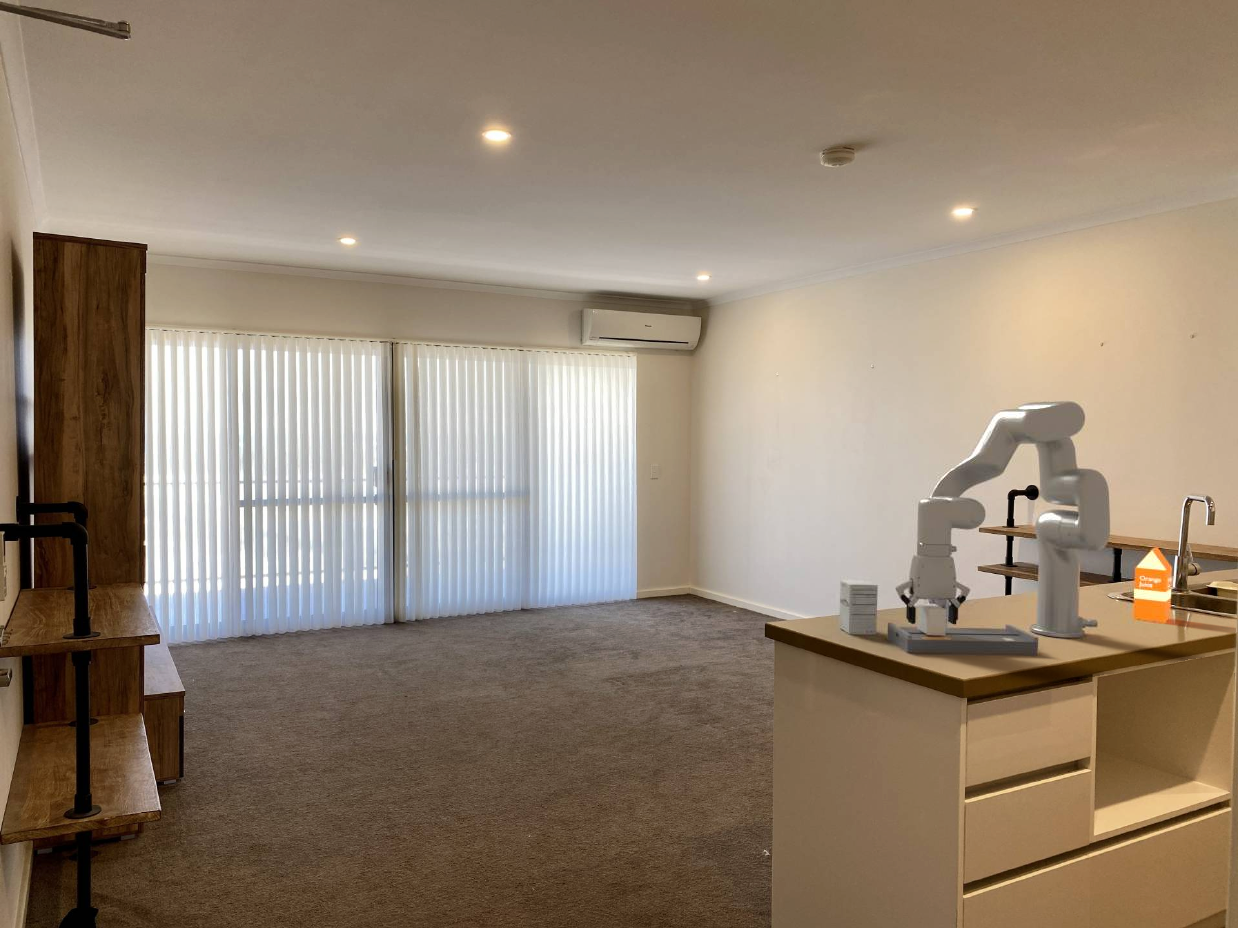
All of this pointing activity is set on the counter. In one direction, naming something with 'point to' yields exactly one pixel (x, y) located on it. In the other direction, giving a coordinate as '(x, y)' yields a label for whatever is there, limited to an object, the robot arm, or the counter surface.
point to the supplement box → (858, 607)
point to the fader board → (965, 641)
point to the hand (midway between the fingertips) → (931, 622)
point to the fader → (931, 619)
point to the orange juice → (1153, 588)
